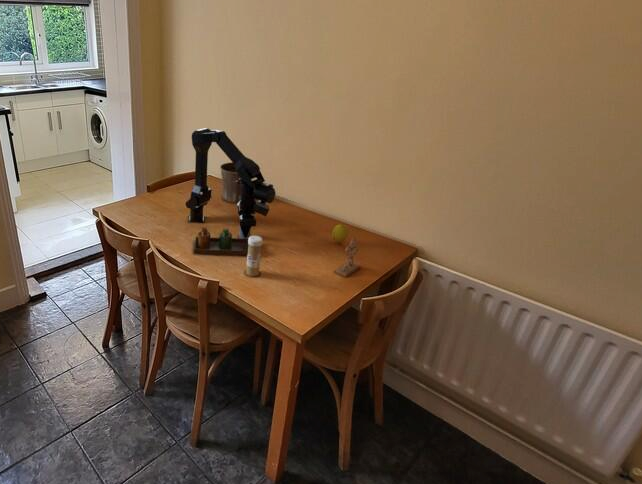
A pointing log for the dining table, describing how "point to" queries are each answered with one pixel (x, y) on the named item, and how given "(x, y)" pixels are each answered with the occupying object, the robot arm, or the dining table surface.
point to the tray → (237, 248)
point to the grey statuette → (349, 266)
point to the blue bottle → (243, 235)
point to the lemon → (340, 233)
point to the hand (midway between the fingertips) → (244, 232)
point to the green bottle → (225, 240)
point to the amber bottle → (204, 239)
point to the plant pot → (230, 183)
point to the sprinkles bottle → (254, 255)
